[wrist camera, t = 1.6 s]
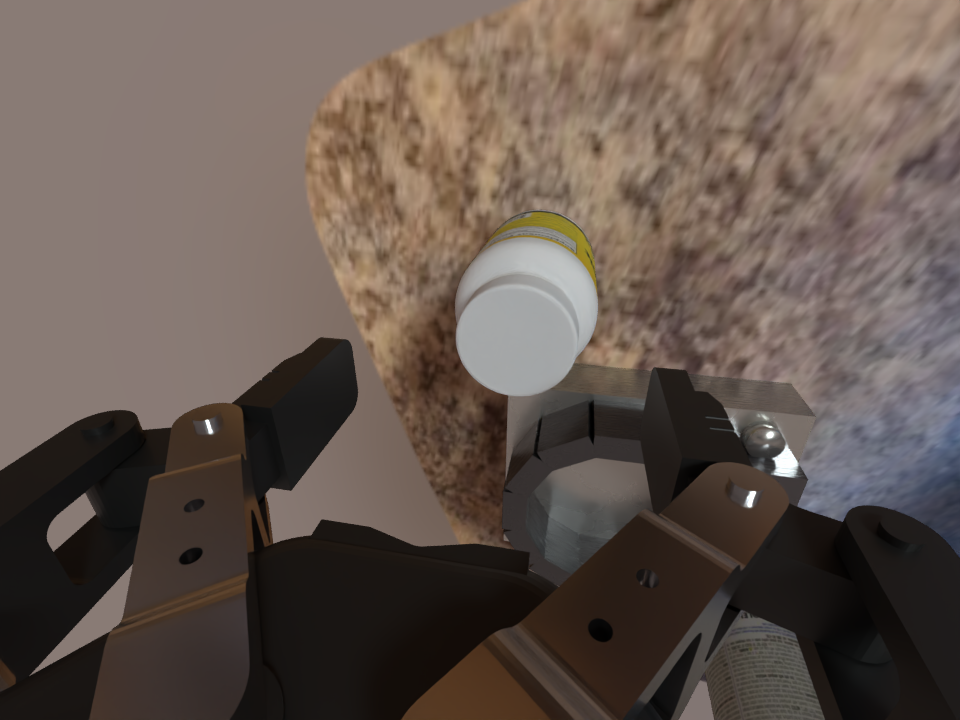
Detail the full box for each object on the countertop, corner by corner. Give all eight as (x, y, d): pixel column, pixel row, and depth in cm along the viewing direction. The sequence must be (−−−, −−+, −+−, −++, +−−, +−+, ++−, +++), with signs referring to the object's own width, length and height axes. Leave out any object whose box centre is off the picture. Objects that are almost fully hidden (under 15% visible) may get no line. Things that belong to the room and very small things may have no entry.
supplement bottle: (575, 325, 25) (568, 435, 16) (477, 297, 25) (419, 389, 17) (611, 223, 22) (626, 290, 13) (500, 194, 22) (447, 240, 14)
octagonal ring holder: (791, 383, 24) (848, 459, 18) (736, 538, 29) (769, 632, 24) (516, 358, 26) (498, 418, 21) (510, 505, 31) (495, 583, 26)
